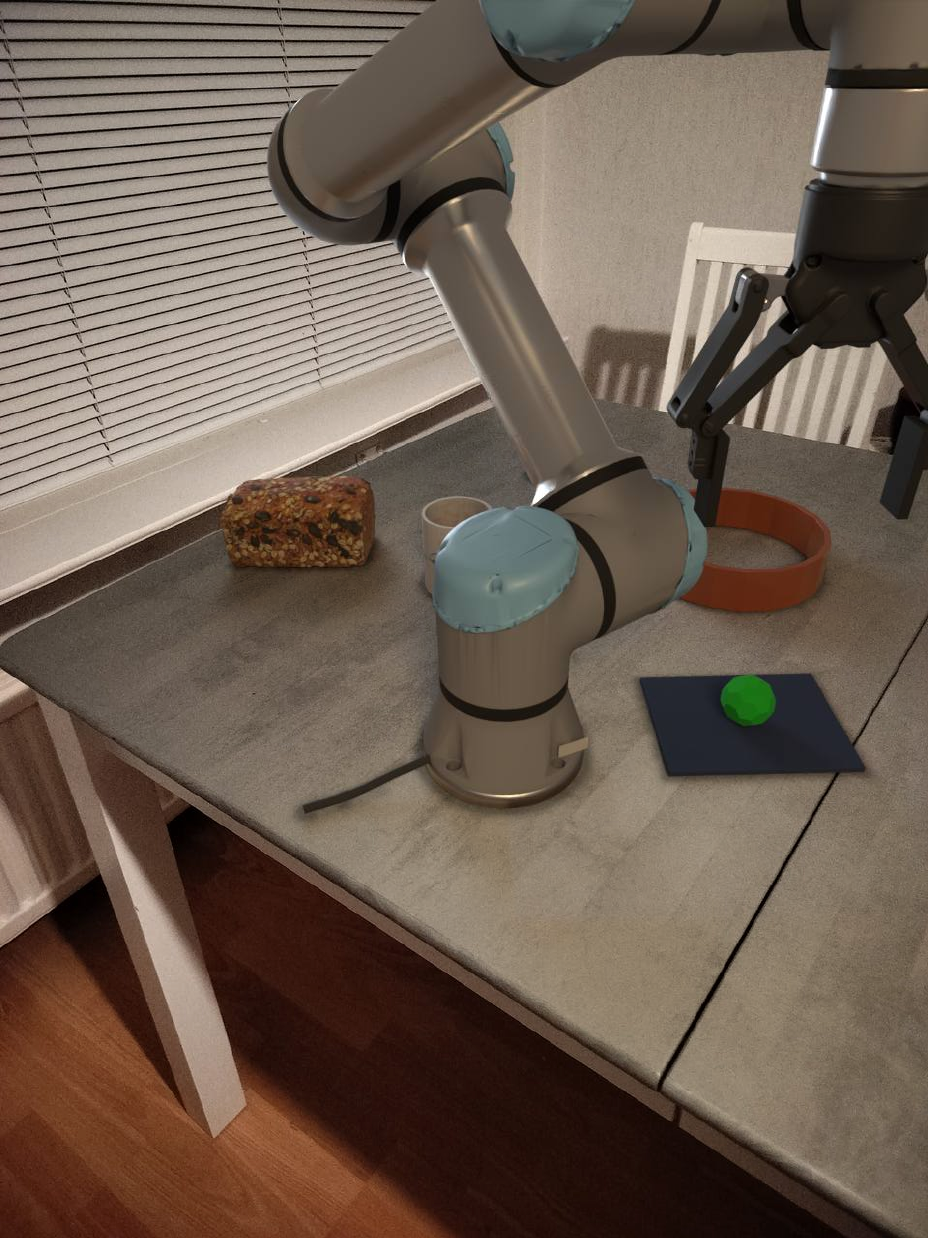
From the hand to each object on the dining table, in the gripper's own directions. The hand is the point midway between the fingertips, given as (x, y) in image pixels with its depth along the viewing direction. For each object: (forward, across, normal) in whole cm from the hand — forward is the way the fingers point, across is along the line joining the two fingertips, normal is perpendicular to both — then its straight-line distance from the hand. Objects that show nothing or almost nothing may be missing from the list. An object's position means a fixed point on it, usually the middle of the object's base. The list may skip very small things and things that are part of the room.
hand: (798, 515), depth 58 cm
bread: (+28, +44, -48) cm, 71 cm away
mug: (+28, +23, -36) cm, 51 cm away
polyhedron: (+27, -4, -9) cm, 29 cm away
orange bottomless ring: (+28, -12, -40) cm, 50 cm away
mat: (+28, -4, -9) cm, 29 cm away
